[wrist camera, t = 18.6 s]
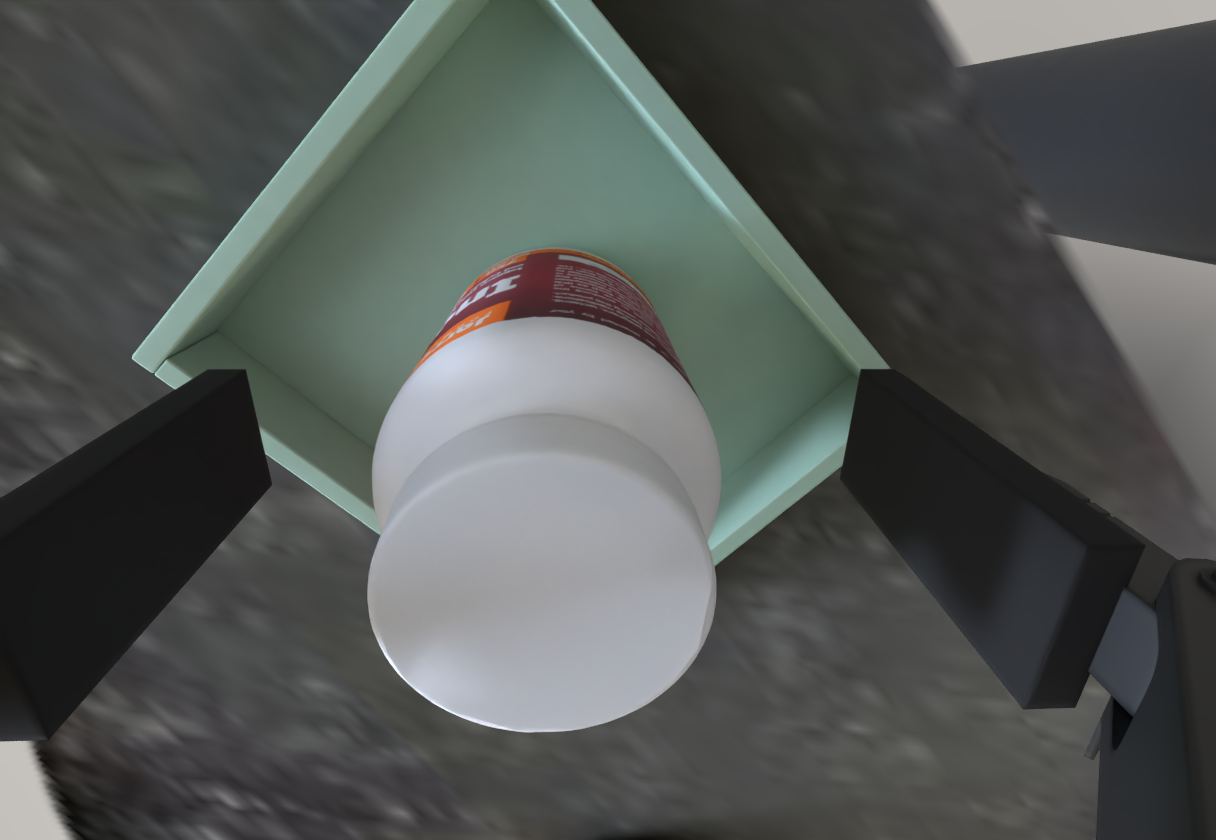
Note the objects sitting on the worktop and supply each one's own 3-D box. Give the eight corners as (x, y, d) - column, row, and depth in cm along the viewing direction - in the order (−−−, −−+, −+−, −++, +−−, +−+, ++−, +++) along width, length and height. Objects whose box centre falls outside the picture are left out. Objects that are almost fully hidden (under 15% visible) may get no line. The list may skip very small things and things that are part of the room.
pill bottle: (494, 202, 17) (392, 298, 7) (698, 299, 18) (871, 499, 8) (417, 402, 19) (250, 707, 9) (605, 474, 20) (649, 808, 10)
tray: (870, 367, 20) (921, 405, 17) (575, 610, 23) (577, 676, 20) (512, -64, 15) (500, -112, 12) (197, 324, 18) (128, 358, 15)
